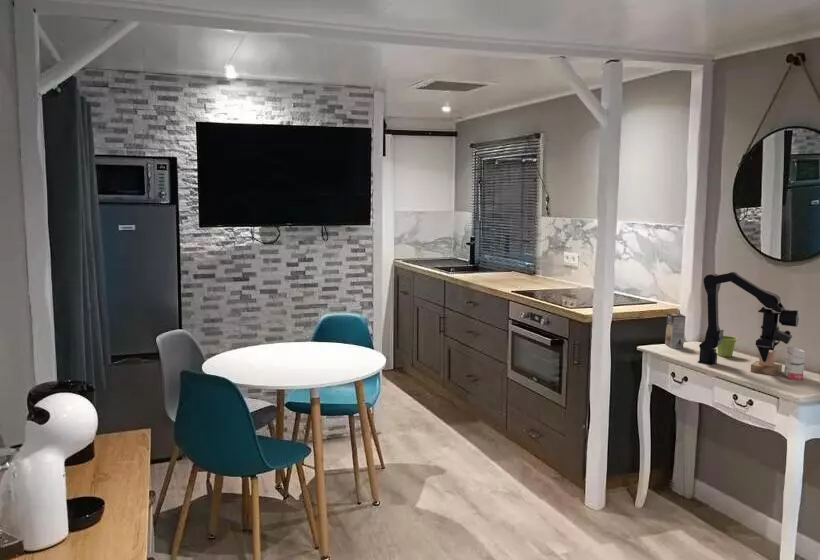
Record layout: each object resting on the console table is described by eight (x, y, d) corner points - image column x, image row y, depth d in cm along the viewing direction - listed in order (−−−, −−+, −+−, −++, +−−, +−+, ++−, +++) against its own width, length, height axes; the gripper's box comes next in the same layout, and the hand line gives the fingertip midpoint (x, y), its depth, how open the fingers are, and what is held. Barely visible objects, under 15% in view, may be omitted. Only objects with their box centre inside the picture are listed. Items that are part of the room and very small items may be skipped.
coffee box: (664, 344, 355) (666, 312, 353) (677, 344, 355) (679, 313, 353) (670, 348, 346) (673, 315, 344) (684, 348, 346) (686, 316, 344)
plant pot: (730, 359, 324) (731, 340, 324) (710, 355, 332) (711, 337, 331) (739, 356, 331) (740, 338, 330) (719, 352, 338) (720, 334, 337)
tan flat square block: (750, 371, 300) (751, 364, 300) (756, 367, 308) (756, 360, 308) (776, 375, 294) (777, 368, 294) (781, 371, 302) (782, 364, 302)
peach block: (758, 364, 300) (760, 350, 300) (761, 362, 304) (762, 349, 304) (771, 366, 297) (772, 352, 297) (774, 364, 301) (775, 350, 301)
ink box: (803, 380, 287) (806, 351, 286) (790, 379, 288) (792, 350, 287) (796, 375, 296) (799, 347, 294) (783, 374, 297) (786, 346, 295)
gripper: (786, 329, 287) (783, 366, 288) (795, 323, 301) (792, 359, 303) (756, 325, 293) (753, 362, 295) (766, 320, 308) (764, 355, 310)
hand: (766, 360), depth 301 cm, fingers open, 9 cm apart
